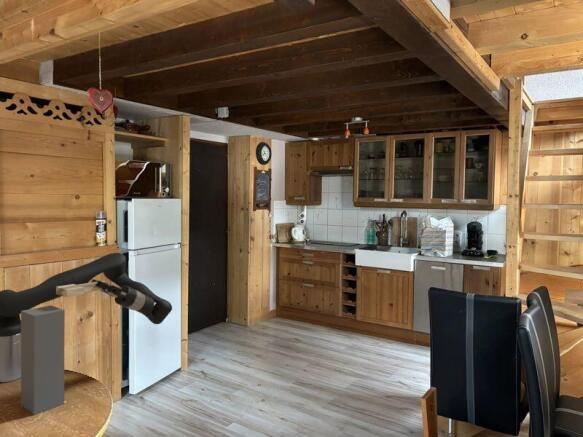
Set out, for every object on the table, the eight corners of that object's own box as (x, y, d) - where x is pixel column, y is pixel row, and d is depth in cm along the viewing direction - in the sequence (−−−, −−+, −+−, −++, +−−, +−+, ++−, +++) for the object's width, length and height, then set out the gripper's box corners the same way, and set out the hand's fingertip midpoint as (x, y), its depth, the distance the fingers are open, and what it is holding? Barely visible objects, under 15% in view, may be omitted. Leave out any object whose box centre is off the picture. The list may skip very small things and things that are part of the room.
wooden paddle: (56, 293, 150) (56, 286, 150) (100, 286, 164) (100, 279, 163) (66, 297, 146) (66, 289, 146) (111, 289, 160) (111, 282, 159)
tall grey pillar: (21, 406, 144) (21, 310, 142) (50, 396, 151) (50, 305, 150) (34, 415, 139) (34, 316, 137) (64, 403, 146) (64, 310, 145)
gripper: (123, 286, 176) (88, 270, 163) (145, 292, 168) (110, 275, 155) (115, 304, 173) (78, 289, 160) (137, 310, 165) (100, 295, 152)
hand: (94, 282), depth 158 cm, fingers closed on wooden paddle, 3 cm apart
